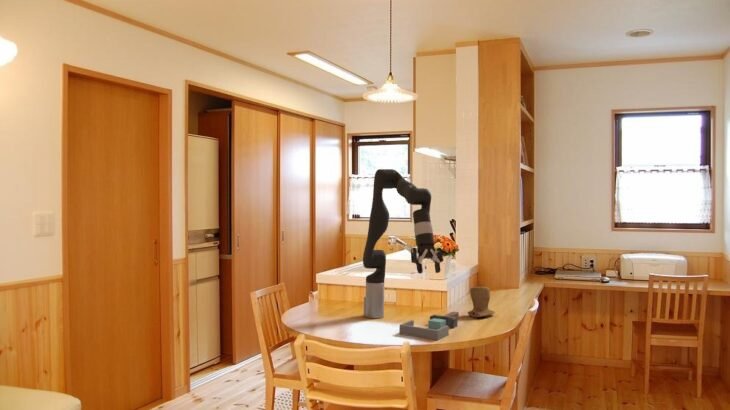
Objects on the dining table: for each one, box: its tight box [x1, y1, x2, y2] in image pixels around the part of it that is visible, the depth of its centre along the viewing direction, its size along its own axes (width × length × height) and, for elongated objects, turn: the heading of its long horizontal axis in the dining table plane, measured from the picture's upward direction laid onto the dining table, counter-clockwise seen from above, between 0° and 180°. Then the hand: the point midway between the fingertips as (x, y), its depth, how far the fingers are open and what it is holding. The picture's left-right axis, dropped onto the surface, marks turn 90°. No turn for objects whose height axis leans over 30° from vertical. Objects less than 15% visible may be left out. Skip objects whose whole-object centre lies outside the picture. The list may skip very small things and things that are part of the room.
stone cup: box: [467, 286, 496, 318], centre depth 291 cm, size 15×12×15 cm
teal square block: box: [427, 318, 446, 330], centre depth 262 cm, size 6×6×4 cm
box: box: [398, 319, 450, 341], centre depth 251 cm, size 18×11×4 cm, turn 58°
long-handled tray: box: [429, 311, 459, 329], centre depth 273 cm, size 12×16×4 cm
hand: (429, 272), depth 233 cm, fingers open, 8 cm apart
